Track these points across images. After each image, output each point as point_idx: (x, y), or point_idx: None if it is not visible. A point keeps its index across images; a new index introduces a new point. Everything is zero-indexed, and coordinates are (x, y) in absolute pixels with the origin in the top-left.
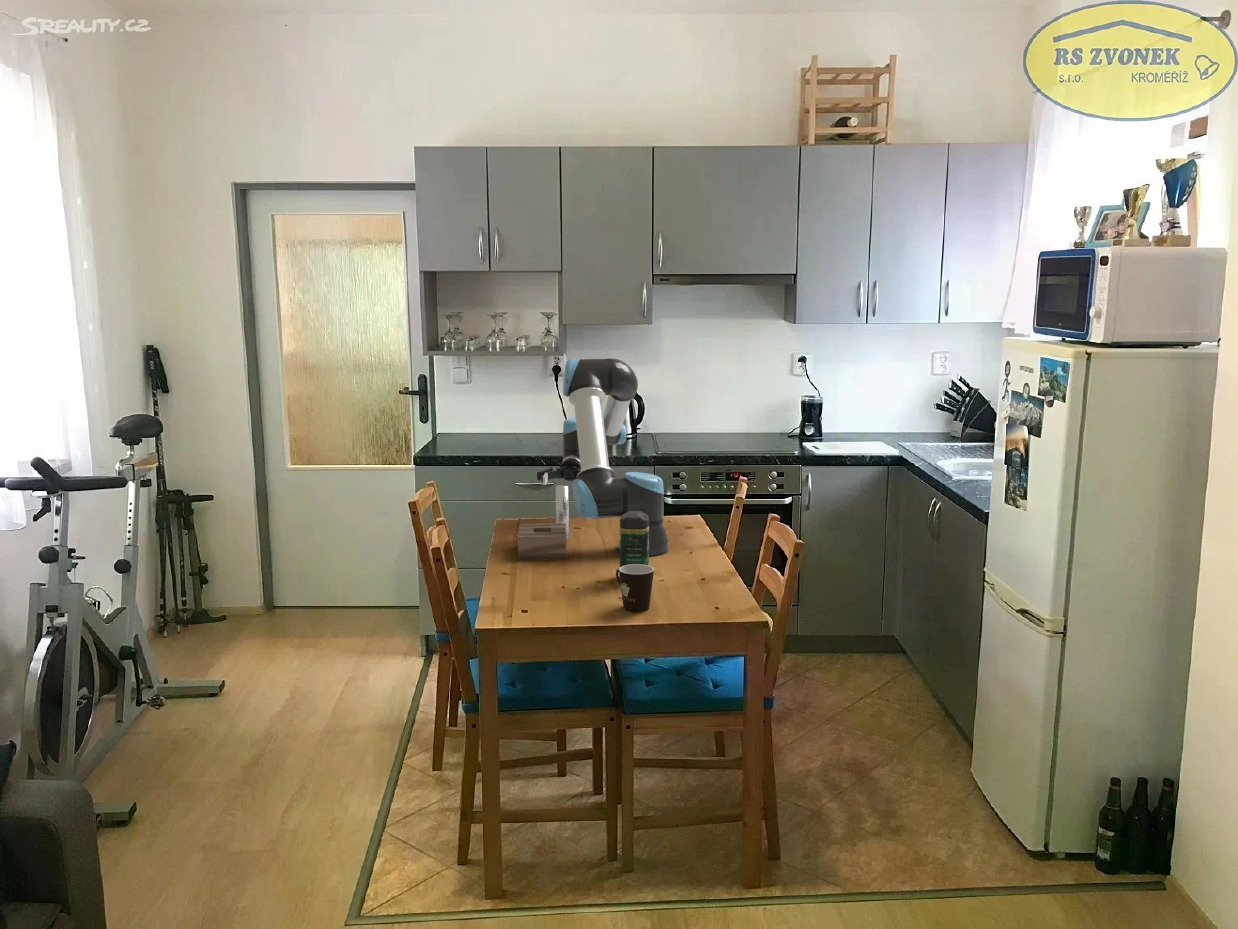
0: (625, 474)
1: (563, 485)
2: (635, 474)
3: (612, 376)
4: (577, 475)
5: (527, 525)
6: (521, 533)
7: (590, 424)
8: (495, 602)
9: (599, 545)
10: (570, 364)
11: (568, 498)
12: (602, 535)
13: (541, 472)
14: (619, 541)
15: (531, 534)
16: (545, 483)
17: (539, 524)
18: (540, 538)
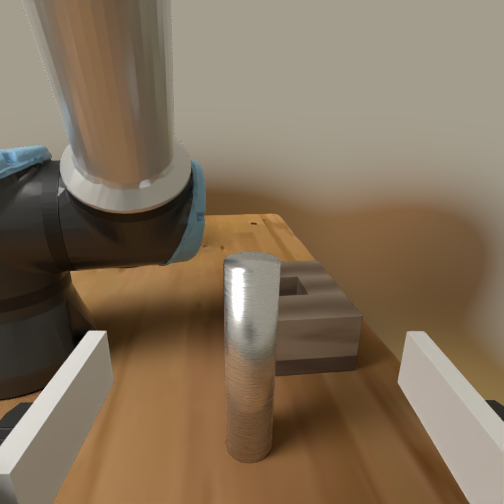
0: (44, 148)
1: (246, 265)
2: (8, 150)
3: None
4: (189, 157)
5: (333, 307)
6: (319, 271)
7: None
8: (286, 230)
9: (134, 381)
10: None
11: (224, 310)
12: (83, 497)
13: None
14: (90, 330)
15: (296, 268)
16: (403, 381)
17: (304, 313)
18: None
